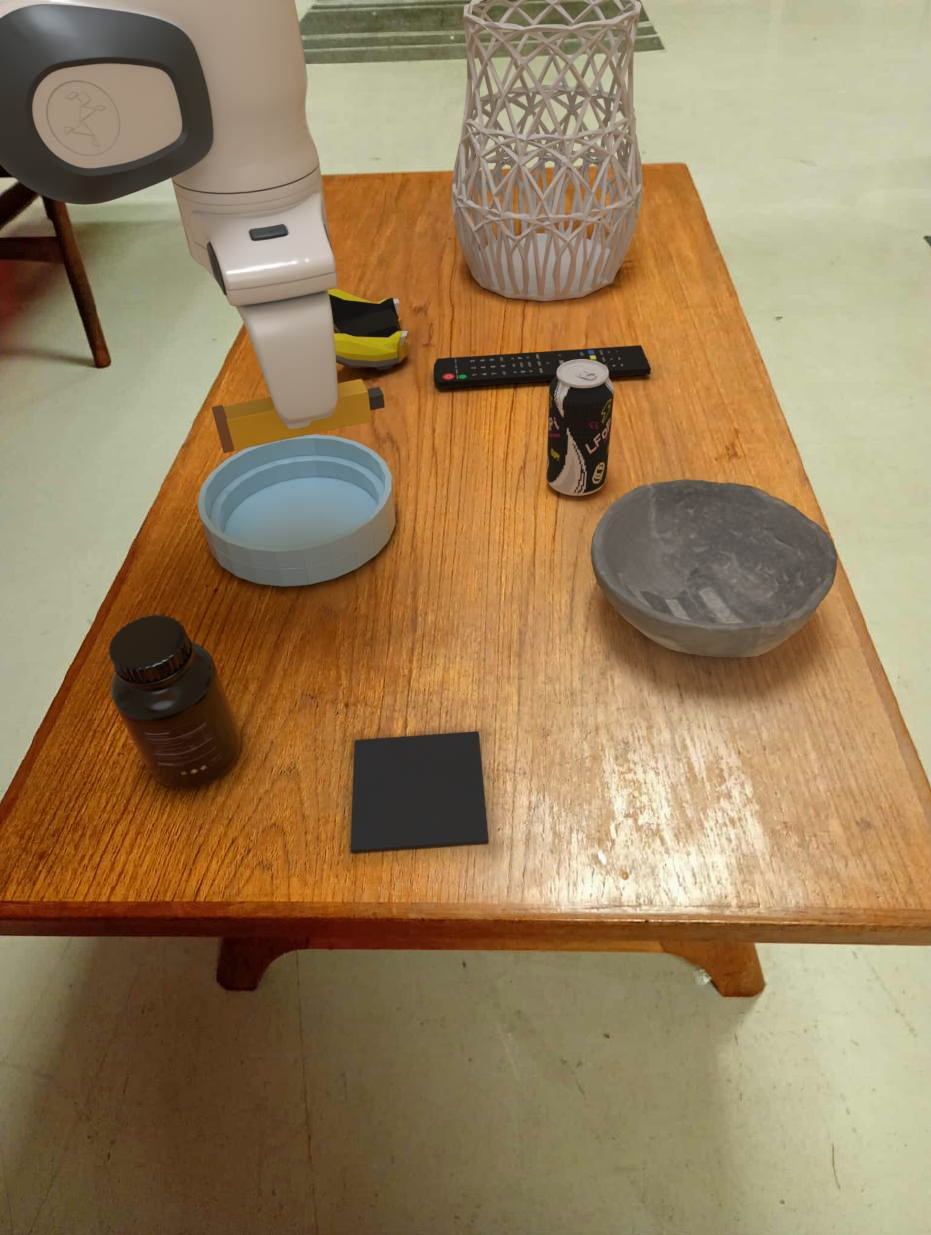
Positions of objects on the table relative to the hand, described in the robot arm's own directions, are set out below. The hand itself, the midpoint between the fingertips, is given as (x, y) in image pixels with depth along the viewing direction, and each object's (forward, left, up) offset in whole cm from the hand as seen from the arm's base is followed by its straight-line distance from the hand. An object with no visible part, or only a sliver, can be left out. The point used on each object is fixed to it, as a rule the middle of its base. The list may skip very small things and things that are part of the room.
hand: (293, 412), depth 65 cm
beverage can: (+23, +12, -17) cm, 31 cm away
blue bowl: (-3, +8, -17) cm, 19 cm away
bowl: (+30, -7, -17) cm, 36 cm away
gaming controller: (+2, +41, -17) cm, 44 cm away
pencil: (0, 0, -2) cm, 2 cm away
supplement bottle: (-9, -17, -17) cm, 26 cm away
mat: (+7, -22, -17) cm, 29 cm away
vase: (+26, +61, -17) cm, 69 cm away
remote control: (+22, +33, -17) cm, 43 cm away
